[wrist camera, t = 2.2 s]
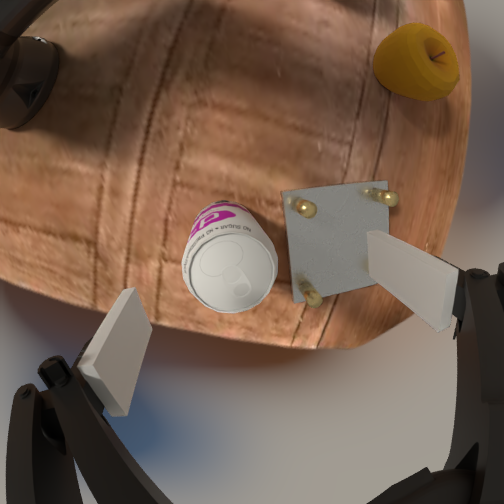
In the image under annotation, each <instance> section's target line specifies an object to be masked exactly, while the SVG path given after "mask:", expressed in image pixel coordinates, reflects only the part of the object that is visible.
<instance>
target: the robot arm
mask: <svg viewBox="0 0 504 504" xmlns="http://www.w3.org/2000/svg"><path fill="white" fill-rule="evenodd" d="M57 1H58V0H0V128H6V129H13V128H17V127H19V126H21V125H23V124H25V123H26V122H28V121H29V120H30V119H31V118H32V117H33V116H34V115H35V114H36V113H37V112H38V111H39V109H40V108H41V107H42V105H43V104H44V102H45V101H46V99H47V98H48V96H49V94H50V92H51V90H52V88H53V85H54V83H55V80H56V76H57V72H58V66H59V57H58V52H57V49H56V48H55V46H54V45H53V44H52V43H50V42H49V41H47V40H46V39H44V38H41V37H30V36H21V35H22V34H23V32H24V31H25V30H26V29H27V28H28V27H29V26H30V25H31V24H32V23H33V22H34V21H36V20H37V19H38V18H39V17H40V16H41V15H42V14H43V13H44V12H45V11H46V10H47V9H49V8H50V7H51V6H52V5H53V4H54V3H56V2H57ZM367 244H368V263H369V276H370V277H371V278H372V279H374V280H375V281H376V282H377V283H379V284H380V285H381V286H383V287H384V288H385V289H386V290H388V291H389V292H390V293H391V294H392V295H394V296H395V297H396V298H397V299H399V300H400V301H401V302H402V303H404V304H405V305H406V306H407V307H408V308H410V309H411V310H412V311H413V312H414V313H416V314H417V315H418V316H419V317H420V318H422V319H423V320H424V321H425V322H426V323H427V324H429V325H430V326H431V327H432V328H433V329H435V330H436V331H437V332H438V333H439V332H440V331H442V330H444V329H446V328H448V327H449V326H450V323H451V318H452V314H453V315H454V316H455V317H457V323H456V328H455V332H454V336H453V339H455V337H456V336H457V397H456V410H455V420H454V429H453V437H452V443H451V449H450V454H449V457H448V459H447V462H446V464H445V466H444V469H443V470H441V471H437V472H432V473H430V471H429V469H428V468H427V467H425V468H424V469H422V470H420V471H419V472H417V473H415V474H413V475H412V476H410V477H408V478H406V479H404V480H402V481H400V482H398V483H396V484H394V485H392V486H391V487H389V488H388V489H387V490H385V491H384V492H383V493H381V494H380V495H379V496H377V497H376V498H374V499H373V500H372V501H370V502H369V503H367V504H504V262H503V263H500V264H499V267H498V273H497V274H495V275H490V274H489V273H488V272H487V271H485V270H482V269H476V268H474V269H469V270H467V271H466V272H465V271H464V270H461V269H460V268H458V267H456V266H454V265H452V264H449V263H448V262H447V261H443V259H441V258H439V257H437V256H433V255H430V254H428V253H426V252H424V251H422V250H420V249H418V248H416V247H414V246H412V245H410V244H408V243H406V242H404V241H402V240H399V239H397V238H395V237H393V236H391V235H389V234H387V233H384V232H382V231H380V230H378V229H377V230H373V231H369V232H367ZM151 332H152V327H151V325H150V322H149V320H148V318H147V315H146V313H145V310H144V308H143V305H142V303H141V300H140V298H139V295H138V293H137V290H136V287H133V288H129V289H124V290H123V291H122V292H121V294H120V296H119V297H118V299H117V300H116V302H115V303H114V305H113V306H112V308H111V310H110V311H109V313H108V314H107V316H106V317H105V319H104V321H103V322H102V324H101V326H100V327H99V329H98V331H97V332H96V334H95V336H94V337H92V338H91V339H90V340H89V341H88V342H87V343H86V344H85V345H84V347H83V349H82V350H81V351H82V352H80V354H79V355H78V357H77V359H76V361H75V362H74V364H73V366H72V368H71V369H70V368H69V366H68V364H67V363H66V361H65V360H64V358H63V357H62V356H53V357H50V358H48V359H47V360H45V361H44V362H43V363H42V364H41V365H40V366H39V368H38V374H39V376H40V377H41V379H42V380H43V382H44V383H45V384H46V386H47V387H48V390H45V391H42V392H39V391H38V390H37V388H36V387H35V385H34V384H26V385H24V386H21V387H20V388H19V389H18V390H17V392H16V393H15V395H14V399H13V405H12V410H11V417H10V424H9V433H8V442H7V455H6V501H7V504H83V501H82V497H81V493H80V489H79V484H78V480H77V475H76V470H75V464H74V459H75V461H76V463H77V465H78V468H79V470H80V472H81V474H82V476H83V477H84V479H85V481H86V483H87V485H88V487H89V489H90V491H91V492H92V494H93V496H94V498H95V499H96V501H97V503H98V504H173V503H172V502H171V501H170V500H169V499H168V498H167V497H166V496H165V495H164V493H163V492H162V491H161V490H160V489H159V488H158V487H157V486H156V485H155V483H154V482H153V481H152V480H151V479H150V478H149V477H148V475H147V474H146V473H145V472H144V471H143V469H142V468H141V467H140V466H139V464H138V463H137V462H136V461H135V459H134V458H133V457H132V455H131V454H130V453H129V451H128V450H127V449H126V447H125V446H124V445H123V443H122V442H121V440H120V439H119V438H118V436H117V435H116V433H115V432H114V430H113V429H112V427H111V426H110V424H109V423H108V421H107V419H106V418H105V417H104V416H103V414H102V413H103V410H104V407H105V408H106V410H107V411H108V412H109V413H110V415H111V416H127V415H128V411H129V407H130V403H131V399H132V395H133V392H134V388H135V385H136V381H137V378H138V374H139V371H140V367H141V364H142V360H143V357H144V354H145V350H146V348H147V344H148V341H149V338H150V335H151ZM73 457H74V458H73Z"/></svg>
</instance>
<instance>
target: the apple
mask: <svg viewBox="0 0 504 504" xmlns="http://www.w3.org/2000/svg"><path fill="white" fill-rule="evenodd" d="M373 70H374V74H375V76H376V78H377V79H378V81H379V82H380V83H381V84H382V85H383V86H384V87H386V88H387V89H388V90H390V91H392V92H394V93H396V94H399V95H402V96H405V97H408V98H412V99H416V100H421V101H432V100H437V99H441V98H443V97H445V96H447V95H449V94H450V93H451V92H452V90H453V89H454V87H455V86H456V84H457V83H458V81H459V68H458V62H457V58H456V55H455V52H454V50H453V48H452V46H451V45H450V43H449V42H448V41H447V40H446V38H445V37H444V36H443V35H441V34H440V33H438V32H437V31H436V30H434V29H433V28H431V27H430V26H428V25H424V24H421V23H410V24H406V25H404V26H401V27H399V28H398V29H397V30H395V31H394V32H392V33H391V34H390V35H389V36H387V37H386V38H385V39H384V40H383V41H382V42H381V43H380V45H379V46H378V48H377V50H376V52H375V55H374V59H373Z"/></svg>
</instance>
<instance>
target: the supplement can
mask: <svg viewBox="0 0 504 504" xmlns="http://www.w3.org/2000/svg"><path fill="white" fill-rule="evenodd" d="M182 272H183V279H184V281H185V283H186V285H187V287H188V289H189V291H190V293H192V294H193V295H194V296H195V297H196V298H197V299H198V300H199V301H200V302H201V303H202V304H203V305H205V306H206V307H208V308H210V309H213V310H215V311H217V312H223V313H237V312H242V311H247V310H249V309H250V308H252V307H254V306H256V305H257V304H259V303H260V302H261V301H262V300H263V299H264V298H265V297H266V295H267V294H268V293H269V291H270V289H271V288H272V286H273V284H274V281H275V279H276V276H277V274H278V257H277V254H276V251H275V248H274V245H273V243H272V241H271V240H270V239H269V237H268V236H267V235H266V233H265V232H264V230H263V229H262V228H261V226H260V225H259V224H258V222H257V221H256V220H255V218H254V217H253V216H252V214H251V213H250V212H249V211H248V210H247V209H246V208H245V207H244V206H242V205H240V204H238V203H237V202H233V201H226V200H222V201H217V202H213V203H211V204H209V205H208V206H206V207H205V208H203V209H202V210H201V212H200V213H199V214H198V215H197V217H196V219H195V221H194V224H193V227H192V230H191V233H190V236H189V239H188V242H187V245H186V249H185V252H184V256H183V259H182Z"/></svg>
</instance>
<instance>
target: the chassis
mask: <svg viewBox="0 0 504 504" xmlns="http://www.w3.org/2000/svg"><path fill="white" fill-rule="evenodd" d="M281 197H282V206H283V214H284V223H285V232H286V241H287V250H288V260H289V270H290V280H291V291H292V301H293V302H294V303H299V302H303V301H307V303H308V304H309V306H310V307H311V308H317V307H319V306H320V305H321V304H322V301H323V299H322V297H325V296H330V295H334V294H338V293H342V292H346V291H351V290H355V289H358V288H362V287H366V286H370V285H374V284H378V283H377V282H376V281H375V280H374V279H372V278H371V277H370V276H369V263H368V244H367V232H369V231H373V230H377V229H378V230H380V231H382V232H384V233H387V234H389V206H391V207H394V206H396V205H397V203H398V200H399V197H398V194H397V193H396V192H393V191H388V182H387V180H376V181H365V182H355V183H345V184H335V185H326V186H318V187H309V188H301V189H294V190H286V191H281Z"/></svg>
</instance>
